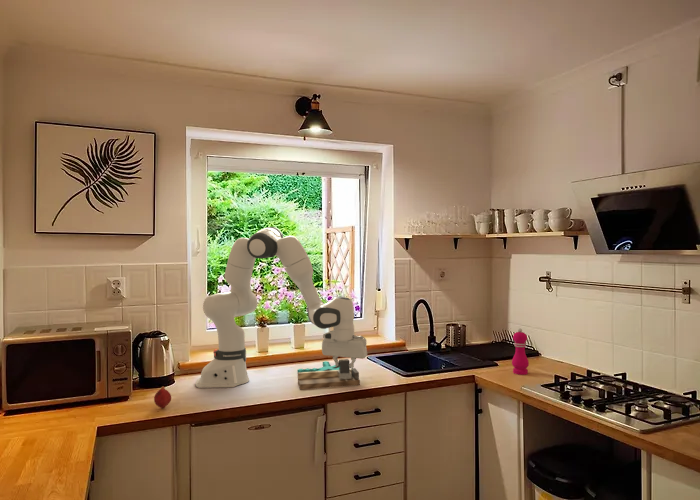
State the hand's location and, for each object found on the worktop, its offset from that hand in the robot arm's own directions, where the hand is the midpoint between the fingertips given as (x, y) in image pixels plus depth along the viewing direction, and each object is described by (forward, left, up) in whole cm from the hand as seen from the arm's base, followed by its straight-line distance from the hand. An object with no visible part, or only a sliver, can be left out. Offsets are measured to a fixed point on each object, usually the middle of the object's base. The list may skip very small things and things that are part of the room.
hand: (344, 367), depth 221 cm
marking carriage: (0, 0, -4) cm, 4 cm away
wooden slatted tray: (-7, 0, -7) cm, 10 cm away
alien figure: (-4, +20, -7) cm, 22 cm away
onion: (-71, -17, -7) cm, 73 cm away
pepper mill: (+79, -4, -7) cm, 79 cm away
